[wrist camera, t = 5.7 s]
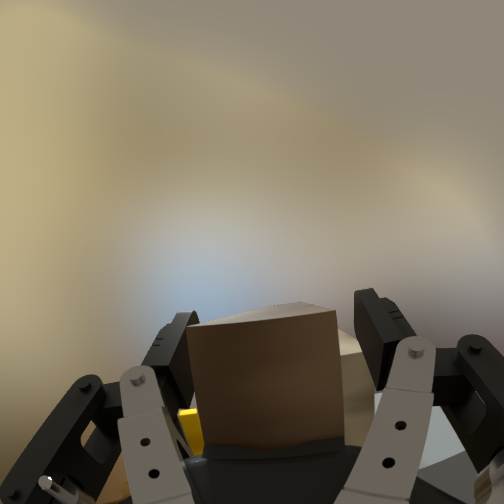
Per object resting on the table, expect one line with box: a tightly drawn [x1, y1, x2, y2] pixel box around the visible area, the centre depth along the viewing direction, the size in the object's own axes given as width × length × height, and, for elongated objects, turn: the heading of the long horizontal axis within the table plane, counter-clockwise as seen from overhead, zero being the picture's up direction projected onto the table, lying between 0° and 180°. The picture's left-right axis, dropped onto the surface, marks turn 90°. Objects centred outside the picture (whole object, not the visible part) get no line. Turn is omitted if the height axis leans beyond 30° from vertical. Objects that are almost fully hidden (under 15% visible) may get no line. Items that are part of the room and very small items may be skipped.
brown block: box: [186, 302, 345, 452], centre depth 19 cm, size 8×28×3 cm, turn 172°
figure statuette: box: [178, 409, 204, 456], centre depth 31 cm, size 18×8×22 cm, turn 12°
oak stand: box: [338, 329, 375, 447], centre depth 21 cm, size 10×18×32 cm, turn 172°
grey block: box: [374, 392, 478, 504], centre depth 19 cm, size 9×18×22 cm, turn 172°
